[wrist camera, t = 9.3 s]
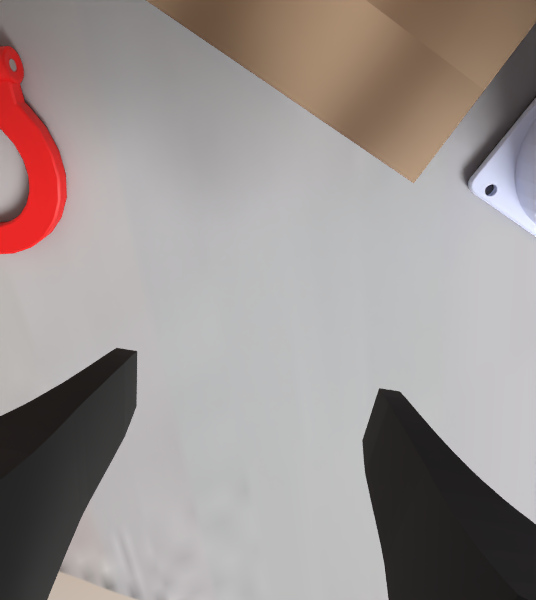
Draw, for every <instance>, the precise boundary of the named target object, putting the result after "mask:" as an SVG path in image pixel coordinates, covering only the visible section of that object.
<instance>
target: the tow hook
mask: <svg viewBox="0 0 536 600" xmlns="http://www.w3.org/2000/svg"><path fill="white" fill-rule="evenodd" d="M23 76H24V69H23V65H22V62H21V59H20V57H19V55H18V53H17V52H16V51H15V50H14V49H13V48H12V47H10V46H0V129H1V130H2V131H3V132H4V133H5V134H6V135H7V137H8V138H9V139H10V140H11V141H12V142H13V143H14V145H15V146H16V148H17V150H18V152H19V153H20V155H21V157H22V159H23V161H24V164H25V167H26V170H27V173H28V178H29V195H28V199H27V204H26V205H25V207H24V209H23V211H22V212H21V214H20V215H19V216H17V217H16V218H15V219H14V220H11V221H8V222H0V254H11V253H16V252H19V251H22V250H25V249H28V248H31V247H32V246H34V245H35V244H37V243H38V242H40V241H41V240H42V239H44V238H45V237H46V236H47V235H49V234H50V233H51V232H52V231H53V229H54V228H55V226H56V225H57V223H58V222H59V220H60V219H61V217H62V214H63V210H64V206H65V202H66V198H67V194H66V174H65V170H64V167H63V163H62V160H61V156H60V153H59V150H58V148H57V146H56V144H55V143H54V141H53V139H52V137H51V135H50V133H49V131H48V130H47V128H46V126H45V125H44V124H43V123H42V121H41V120H40V119H39V118H38V117H37V115H36V114H35V113H34V112H33V111H32V109H31V108H30V107H29V106H28V105H27V104H26V103H25V101H24V97H23V94H22V90H21V86H20V83H21V82H22V80H23Z"/></svg>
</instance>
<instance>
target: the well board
mask: <svg viewBox="0 0 536 600" xmlns="http://www.w3.org/2000/svg"><path fill="white" fill-rule="evenodd" d="M146 1H148V2H149V3H151V4H152V5H154V6H155V7H157V8H158V9H160V10H161V11H162V12H164V13H165V14H167V15H168V16H170V17H171V18H173V19H174V20H176V21H177V22H179V23H180V24H182V25H183V26H184V27H186V28H187V29H189V30H190V31H192V32H193V33H195V34H196V35H198V36H199V37H201V38H202V39H203V40H205V41H206V42H208V43H209V44H211V45H212V46H214V47H215V48H217V49H218V50H220V51H221V52H222V53H224V54H225V55H227V56H228V57H230V58H231V59H233V60H234V61H236V62H237V63H239V64H240V65H241V66H243V67H244V68H246V69H247V70H249V71H250V72H252V73H253V74H255V75H256V76H258V77H259V78H261V79H262V80H263V81H265V82H266V83H268V84H269V85H271V86H272V87H274V88H275V89H277V90H278V91H280V92H281V93H282V94H284V95H285V96H287V97H288V98H290V99H291V100H293V101H294V102H296V103H297V104H299V105H300V106H301V107H303V108H304V109H306V110H307V111H309V112H310V113H312V114H313V115H315V116H316V117H318V118H319V119H321V120H322V121H323V122H325V123H326V124H328V125H329V126H331V127H332V128H334V129H335V130H337V131H338V132H340V133H341V134H342V135H344V136H345V137H347V138H348V139H350V140H351V141H353V142H354V143H356V144H357V145H359V146H360V147H361V148H363V149H364V150H366V151H367V152H369V153H370V154H372V155H373V156H375V157H376V158H378V159H379V160H381V161H382V162H383V163H385V164H386V165H388V166H389V167H391V168H392V169H394V170H395V171H397V172H398V173H400V174H401V175H402V176H404V177H405V178H407V179H408V180H410V181H411V182H413V183H414V182H415V181H416V180H417V178H418V177H419V176H420V174H421V173H422V172H423V170H424V169H425V168H426V166H427V165H428V164H429V162H430V161H431V160H432V158H433V157H434V156H435V154H436V153H437V152H438V151H439V149H440V148H441V147H442V145H443V144H444V143H445V141H446V140H447V139H448V137H449V136H450V135H451V133H452V132H453V131H454V129H455V128H456V127H457V126H458V124H459V123H460V122H461V120H462V119H463V118H464V116H465V115H466V114H467V112H468V111H469V110H470V108H471V107H472V106H473V104H474V103H475V102H476V101H477V99H478V98H479V97H480V95H481V94H482V93H483V91H484V90H485V89H486V87H487V86H488V85H489V83H490V82H491V81H492V79H493V78H494V77H495V75H496V74H497V73H498V72H499V70H500V69H501V68H502V66H503V65H504V64H505V62H506V61H507V60H508V58H509V57H510V56H511V54H512V53H513V52H514V50H515V49H516V48H517V47H518V45H519V44H520V43H521V41H522V40H523V39H524V37H525V36H526V35H527V33H528V32H529V31H530V29H531V28H532V27H533V25H534V24H535V23H536V0H146Z"/></svg>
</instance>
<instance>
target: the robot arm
mask: <svg viewBox="0 0 536 600" xmlns="http://www.w3.org/2000/svg"><path fill="white" fill-rule="evenodd" d="M491 184H493V186H494V189H493V191H492V192H491V193H490V194H487V195H486V194H485V189H486V187H487V186H489V185H491ZM468 187H469V190H470V191H471V192H472V193H473V194H475V195H476V196H478V197H479V198H481V199H482V200H483V201H485V202H486V203H488V204H489V205H491V206H492V207H493V208H495V209H496V210H498V211H499V212H501V213H502V214H503V215H505V216H506V217H508V218H509V219H511V220H512V221H513V222H515V223H516V224H518V225H519V226H521V227H522V228H523V229H525V230H526V231H528V232H529V233H531V234H532V235H533V236H535V237H536V98H535V99H534V100H533V102H532V103H531V104H530V105H529V106H528V108H527V109H526V110H525V111H524V113H523V114H522V115H521V116H520V118H519V119H518V120H517V121H516V122H515V124H514V125H513V126H512V127H511V129H510V130H509V131H508V132H507V133H506V135H505V136H504V137H503V138H502V140H501V141H500V142H499V143H498V144H497V146H496V147H495V148H494V149H493V151H492V152H491V153H490V154H489V156H488V157H487V158H486V159H485V160H484V162H483V163H482V164H481V165H480V167H479V168H478V169H477V170H476V171H475V173H474V174H473V175H472V176H471V178H470V180H469V183H468ZM136 394H137V351H133V350H126V349H120V348H116V349H114V350H113V351H111V352H109V353H108V354H106V355H105V356H103V357H102V358H100V359H99V360H97V361H96V362H94V363H93V364H91V365H90V366H88V367H87V368H85V369H84V370H82V371H81V372H79V373H78V374H76V375H74V376H73V377H71V378H70V379H68V380H67V381H65V382H63V383H62V384H60V385H58V386H57V387H55V388H53V389H51V390H50V391H48V392H46V393H44V394H43V395H41V396H39V397H37V398H36V399H34V400H32V401H30V402H28V403H26V404H25V405H23V406H21V407H19V408H17V409H15V410H13V411H10V412H8V413H6V414H4V415H2V416H0V600H47V599H48V596H49V594H50V591H51V589H52V586H53V584H54V581H55V579H56V576H57V574H58V571H59V569H60V567H61V564H62V562H63V559H64V557H65V554H66V552H67V550H68V547H69V545H70V542H71V540H72V538H73V535H74V533H75V531H76V528H77V526H78V524H79V521H80V519H81V517H82V515H83V513H84V511H85V509H86V507H87V505H88V503H89V501H90V499H91V497H92V496H93V494H94V492H95V490H96V488H97V487H98V485H99V483H100V481H101V479H102V477H103V476H104V474H105V472H106V470H107V468H108V466H109V465H110V463H111V461H112V459H113V457H114V455H115V454H116V452H117V450H118V448H119V446H120V444H121V442H122V440H123V439H124V437H125V434H126V432H127V429H128V427H129V424H130V422H131V419H132V416H133V414H134V411H135V408H136ZM363 454H364V465H365V474H366V479H367V484H368V488H369V493H370V498H371V502H372V507H373V511H374V516H375V520H376V525H377V529H378V534H379V538H380V543H381V548H382V553H383V559H384V565H385V573H386V581H387V589H388V598H389V600H536V524H534V523H533V522H532V521H531V520H529V519H528V518H527V517H525V516H524V515H523V514H521V513H520V512H519V511H518V510H516V509H515V508H514V507H513V506H511V505H510V504H509V503H508V502H506V501H505V500H504V499H503V498H502V497H500V496H499V495H498V494H497V493H496V492H495V491H494V490H493V489H491V488H490V487H489V486H488V485H487V484H486V483H485V482H483V481H482V480H481V479H480V478H479V477H478V476H477V475H476V474H475V473H474V472H473V471H472V470H471V469H470V468H469V467H468V466H467V465H466V464H465V463H464V462H463V461H462V460H461V459H460V458H459V457H458V456H457V455H456V454H455V453H454V452H453V451H452V450H451V449H450V448H449V447H448V446H447V445H446V444H445V443H444V442H443V440H442V439H441V438H440V437H439V436H438V435H437V434H436V433H435V432H434V430H433V429H432V428H431V427H430V426H429V425H428V424H427V422H426V421H425V420H424V419H423V418H422V417H421V415H420V414H419V413H418V412H417V411H416V410H415V408H414V407H413V406H412V405H411V404H410V402H409V401H408V400H407V399H406V398H405V397H404V396H403V395H402V394H401V392H399V391H393V390H386V389H380V388H379V391H378V394H377V397H376V400H375V403H374V406H373V409H372V413H371V416H370V419H369V422H368V425H367V428H366V431H365V434H364V438H363Z"/></svg>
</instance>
